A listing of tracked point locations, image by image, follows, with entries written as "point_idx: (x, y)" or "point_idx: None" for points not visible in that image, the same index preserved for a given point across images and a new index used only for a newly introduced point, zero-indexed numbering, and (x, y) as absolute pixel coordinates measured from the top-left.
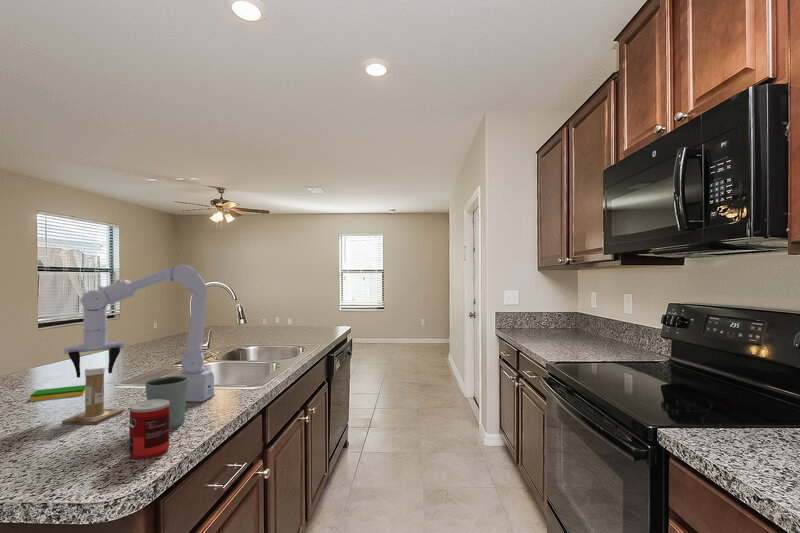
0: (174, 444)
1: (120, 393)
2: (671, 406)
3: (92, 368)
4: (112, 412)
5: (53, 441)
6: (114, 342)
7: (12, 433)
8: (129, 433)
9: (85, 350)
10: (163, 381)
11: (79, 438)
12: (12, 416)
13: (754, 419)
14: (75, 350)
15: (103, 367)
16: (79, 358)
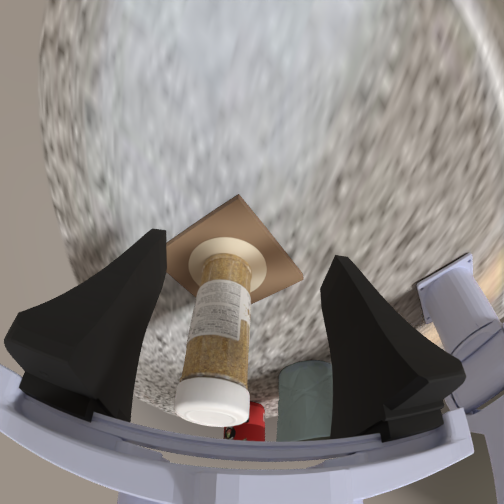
0: (272, 406)
1: (404, 25)
2: None
3: (199, 423)
4: (269, 284)
5: (147, 333)
6: (436, 467)
7: (69, 239)
8: (224, 427)
9: (153, 445)
10: (326, 429)
11: (184, 347)
12: (47, 67)
13: None
14: (72, 429)
15: (239, 424)
16: (129, 400)
